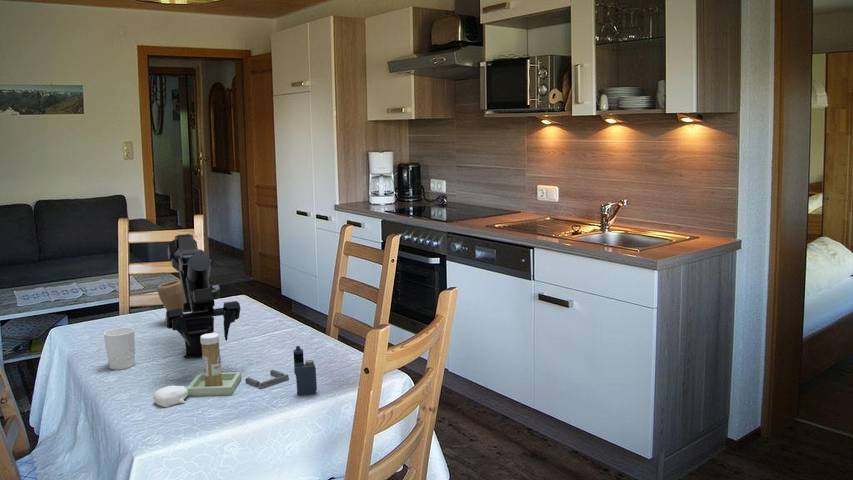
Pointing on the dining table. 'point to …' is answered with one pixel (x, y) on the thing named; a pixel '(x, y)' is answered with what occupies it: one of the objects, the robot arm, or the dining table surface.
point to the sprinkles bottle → (211, 359)
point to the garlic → (170, 395)
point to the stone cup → (171, 294)
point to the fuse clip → (279, 375)
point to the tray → (227, 388)
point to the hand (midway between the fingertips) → (208, 342)
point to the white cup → (120, 347)
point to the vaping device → (304, 373)
